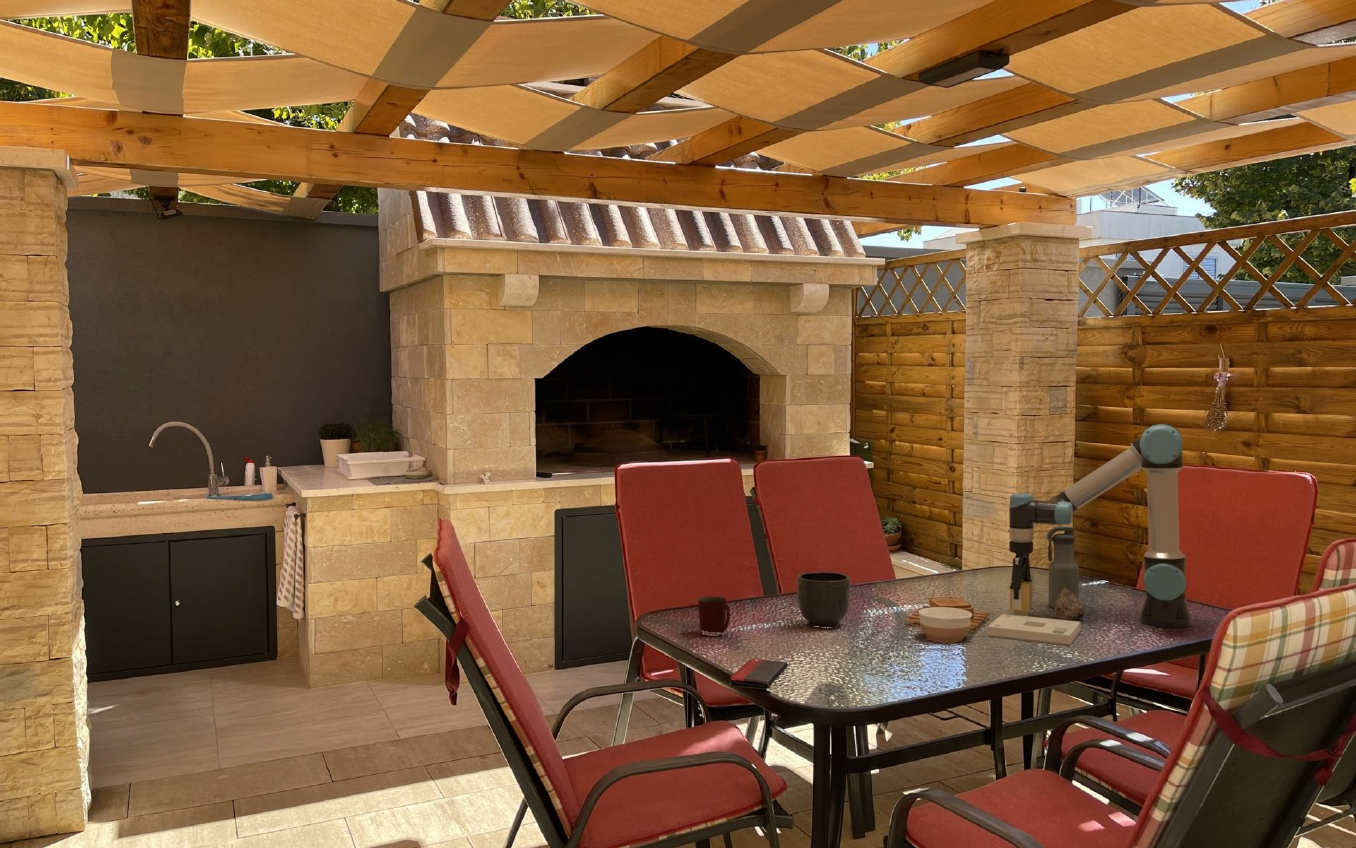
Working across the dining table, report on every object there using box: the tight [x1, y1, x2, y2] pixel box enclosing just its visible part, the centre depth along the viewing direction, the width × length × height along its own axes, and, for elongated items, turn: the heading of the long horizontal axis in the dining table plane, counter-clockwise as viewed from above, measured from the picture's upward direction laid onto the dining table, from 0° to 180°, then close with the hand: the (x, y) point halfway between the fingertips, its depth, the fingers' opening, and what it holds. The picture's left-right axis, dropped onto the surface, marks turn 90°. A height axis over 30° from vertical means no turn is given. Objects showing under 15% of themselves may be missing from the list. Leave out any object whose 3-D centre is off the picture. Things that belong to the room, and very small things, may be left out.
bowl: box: [918, 606, 973, 643], centre depth 314 cm, size 16×16×8 cm
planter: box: [796, 571, 851, 629], centre depth 332 cm, size 17×17×16 cm
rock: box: [1053, 588, 1085, 622], centre depth 338 cm, size 9×12×10 cm
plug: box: [1009, 579, 1033, 617], centre depth 338 cm, size 6×5×13 cm
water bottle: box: [1046, 525, 1080, 609], centre depth 355 cm, size 10×10×28 cm
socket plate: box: [987, 613, 1082, 646], centre depth 318 cm, size 24×20×4 cm
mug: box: [697, 595, 731, 633], centre depth 320 cm, size 12×9×11 cm
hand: (1020, 605), depth 338 cm, fingers open, 12 cm apart
